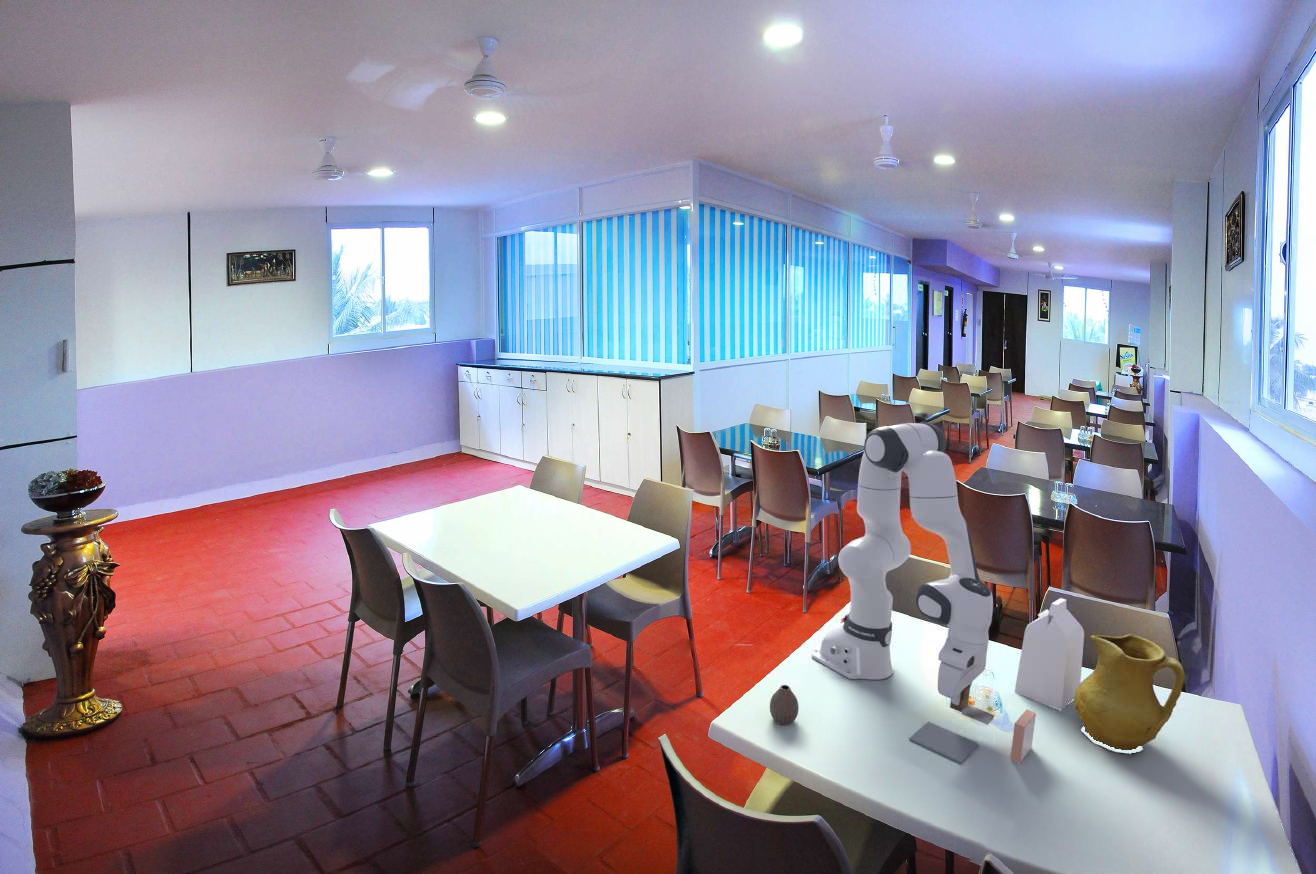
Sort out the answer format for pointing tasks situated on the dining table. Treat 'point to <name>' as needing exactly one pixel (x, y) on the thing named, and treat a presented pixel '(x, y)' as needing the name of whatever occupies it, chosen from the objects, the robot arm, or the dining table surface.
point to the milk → (1051, 657)
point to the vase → (784, 705)
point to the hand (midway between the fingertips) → (959, 699)
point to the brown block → (971, 708)
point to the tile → (1023, 736)
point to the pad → (944, 742)
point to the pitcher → (1126, 692)
